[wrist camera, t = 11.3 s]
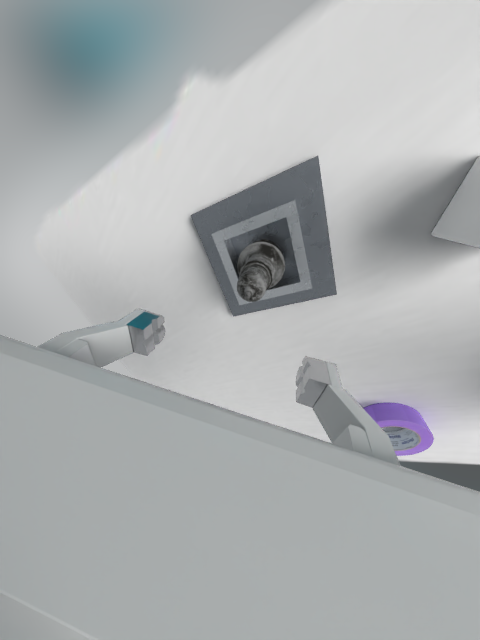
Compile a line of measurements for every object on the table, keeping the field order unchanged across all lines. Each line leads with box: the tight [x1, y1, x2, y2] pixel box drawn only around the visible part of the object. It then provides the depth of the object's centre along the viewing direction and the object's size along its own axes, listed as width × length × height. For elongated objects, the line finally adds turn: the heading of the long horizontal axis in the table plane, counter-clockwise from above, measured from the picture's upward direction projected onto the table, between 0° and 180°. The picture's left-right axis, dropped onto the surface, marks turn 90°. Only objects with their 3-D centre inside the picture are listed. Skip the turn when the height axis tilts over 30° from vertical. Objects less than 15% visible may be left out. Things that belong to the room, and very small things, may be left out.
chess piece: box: [237, 239, 285, 302], centre depth 21 cm, size 6×6×12 cm
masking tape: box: [363, 403, 434, 456], centre depth 37 cm, size 12×12×4 cm
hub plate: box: [191, 156, 337, 316], centre depth 25 cm, size 16×16×4 cm
